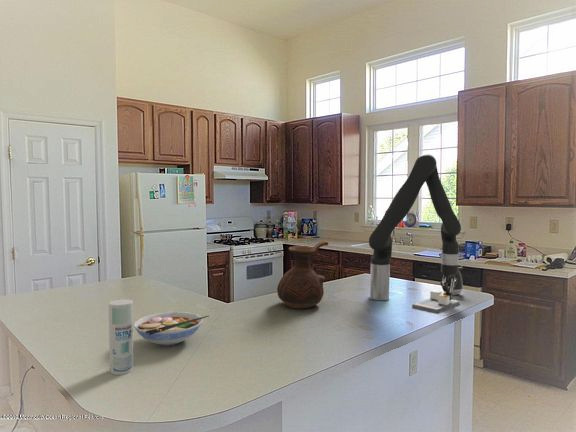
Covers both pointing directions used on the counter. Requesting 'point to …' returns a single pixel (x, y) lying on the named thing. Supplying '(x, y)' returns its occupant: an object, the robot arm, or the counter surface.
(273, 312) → the counter surface
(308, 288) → the jug
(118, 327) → the spray can
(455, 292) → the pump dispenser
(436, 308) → the switch panel
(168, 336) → the ramen bowl
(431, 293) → the on breaker
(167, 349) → the counter surface
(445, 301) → the block
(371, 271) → the robot arm
